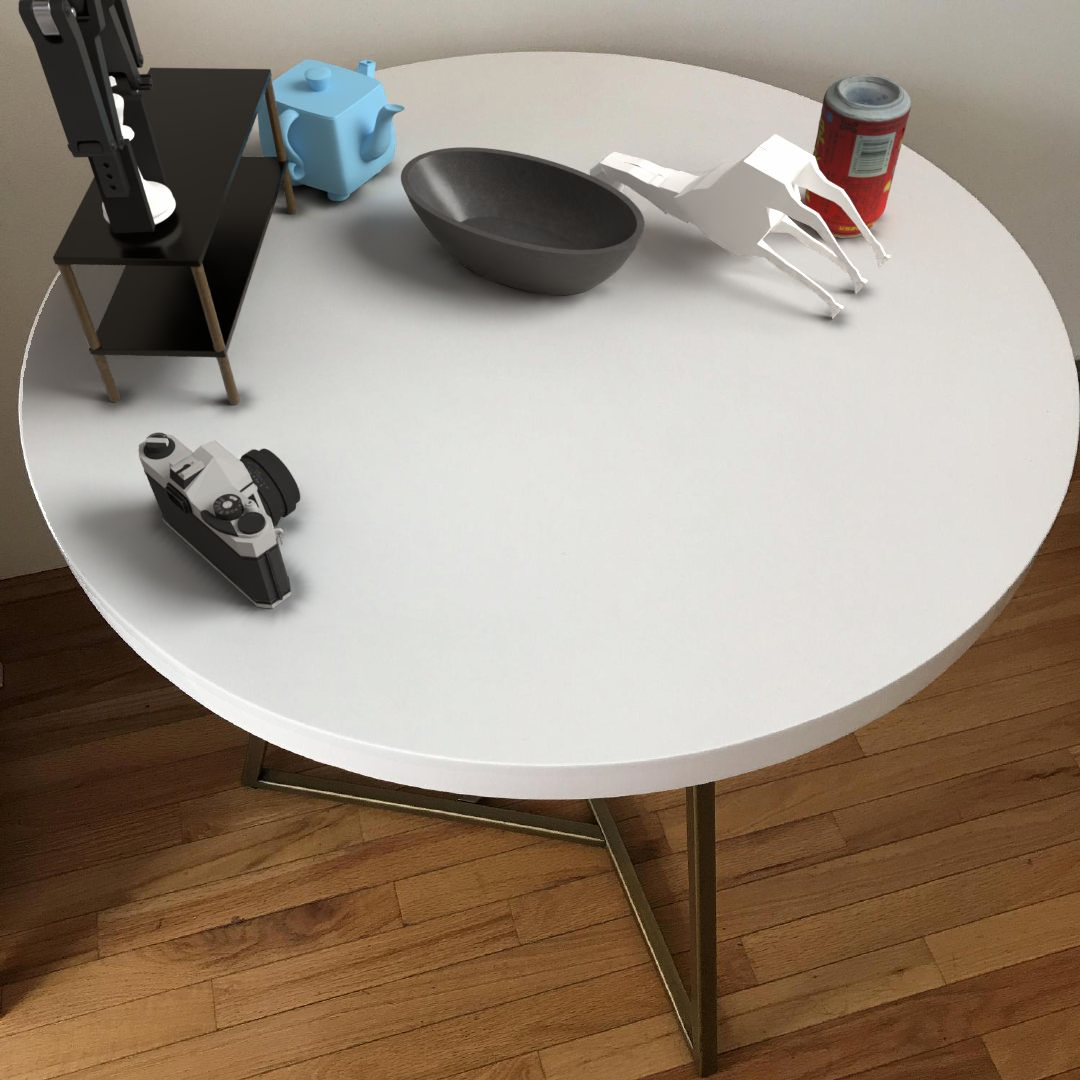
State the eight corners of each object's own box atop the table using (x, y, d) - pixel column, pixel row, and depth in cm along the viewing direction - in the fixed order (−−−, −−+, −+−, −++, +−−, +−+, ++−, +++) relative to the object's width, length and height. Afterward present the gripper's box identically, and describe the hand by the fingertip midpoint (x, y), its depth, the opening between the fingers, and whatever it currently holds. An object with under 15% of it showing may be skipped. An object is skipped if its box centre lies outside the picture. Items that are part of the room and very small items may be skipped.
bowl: (600, 341, 93) (603, 278, 88) (376, 259, 100) (367, 196, 95) (667, 262, 99) (673, 199, 95) (452, 190, 107) (448, 128, 102)
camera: (356, 553, 79) (332, 454, 72) (267, 622, 75) (233, 524, 68) (237, 473, 85) (205, 375, 78) (149, 532, 81) (108, 435, 75)
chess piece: (91, 206, 81) (44, 70, 73) (154, 181, 83) (115, 45, 76) (124, 238, 79) (80, 100, 71) (188, 210, 81) (152, 73, 73)
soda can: (896, 232, 102) (931, 102, 93) (825, 249, 100) (853, 118, 91) (855, 190, 106) (884, 61, 97) (787, 206, 105) (809, 77, 96)
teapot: (217, 180, 108) (192, 77, 100) (311, 112, 116) (293, 12, 108) (373, 237, 102) (358, 133, 94) (460, 162, 110) (454, 59, 102)
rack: (238, 405, 88) (198, 260, 78) (109, 402, 88) (52, 257, 78) (297, 209, 105) (270, 68, 95) (188, 207, 105) (150, 67, 95)
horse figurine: (805, 352, 105) (600, 174, 107) (909, 235, 91) (671, 32, 93) (778, 382, 102) (568, 199, 104) (880, 266, 88) (636, 56, 90)
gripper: (63, -103, 57) (177, 282, 75) (123, -223, 69) (210, 135, 87) (-91, -98, 57) (60, 287, 75) (-5, -219, 69) (108, 139, 86)
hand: (140, 205), depth 81 cm, fingers closed on chess piece, 5 cm apart
